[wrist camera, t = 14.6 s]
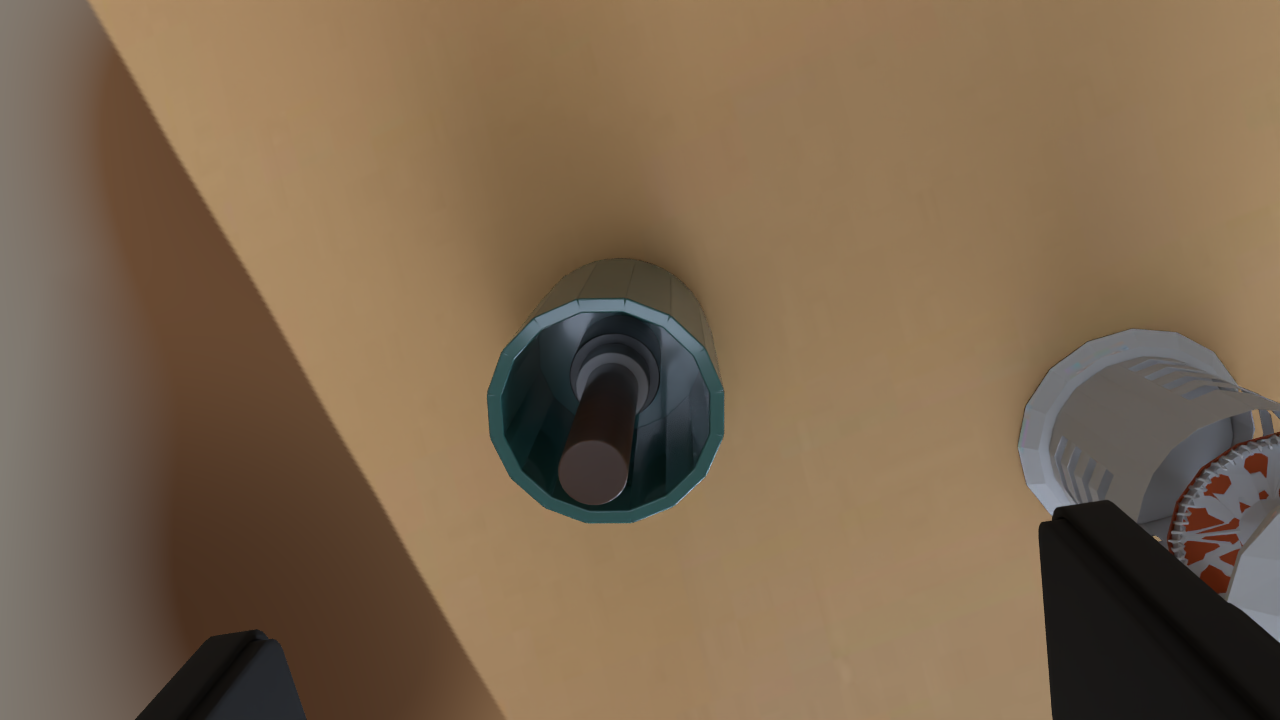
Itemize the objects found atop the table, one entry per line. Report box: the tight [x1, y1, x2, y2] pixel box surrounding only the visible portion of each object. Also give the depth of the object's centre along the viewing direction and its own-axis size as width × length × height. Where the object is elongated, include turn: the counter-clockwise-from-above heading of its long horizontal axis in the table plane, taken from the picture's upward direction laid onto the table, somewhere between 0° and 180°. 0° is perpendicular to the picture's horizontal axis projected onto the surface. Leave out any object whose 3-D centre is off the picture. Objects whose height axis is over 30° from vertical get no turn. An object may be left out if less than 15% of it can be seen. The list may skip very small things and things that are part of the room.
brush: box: [558, 315, 661, 505], centre depth 31 cm, size 4×4×14 cm
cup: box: [487, 258, 724, 523], centre depth 34 cm, size 8×8×10 cm
